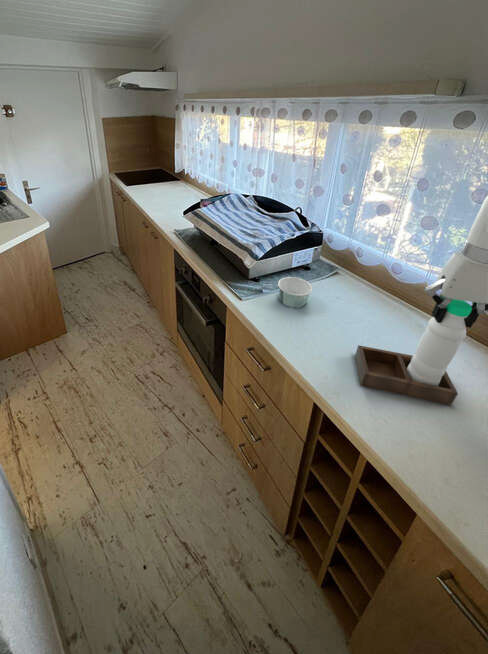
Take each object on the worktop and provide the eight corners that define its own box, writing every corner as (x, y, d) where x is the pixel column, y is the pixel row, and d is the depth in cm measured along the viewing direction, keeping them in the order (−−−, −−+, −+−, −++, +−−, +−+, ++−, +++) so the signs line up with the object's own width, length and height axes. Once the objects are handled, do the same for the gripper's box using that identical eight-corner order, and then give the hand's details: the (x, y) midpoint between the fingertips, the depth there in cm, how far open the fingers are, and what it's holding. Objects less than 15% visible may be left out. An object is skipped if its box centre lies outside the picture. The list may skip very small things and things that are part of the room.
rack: (434, 372, 85) (440, 360, 82) (450, 405, 76) (458, 393, 73) (354, 356, 90) (358, 345, 88) (360, 385, 81) (365, 373, 79)
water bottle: (430, 370, 83) (469, 295, 71) (442, 392, 77) (487, 314, 65) (401, 366, 84) (434, 292, 73) (411, 387, 78) (449, 310, 67)
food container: (292, 313, 108) (295, 298, 104) (269, 296, 117) (271, 282, 114) (316, 303, 113) (319, 288, 110) (291, 287, 122) (294, 273, 119)
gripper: (526, 249, 64) (486, 318, 72) (430, 240, 68) (404, 305, 77) (551, 267, 57) (504, 339, 66) (444, 255, 62) (413, 324, 71)
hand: (451, 320), depth 71 cm, fingers closed on water bottle, 5 cm apart
